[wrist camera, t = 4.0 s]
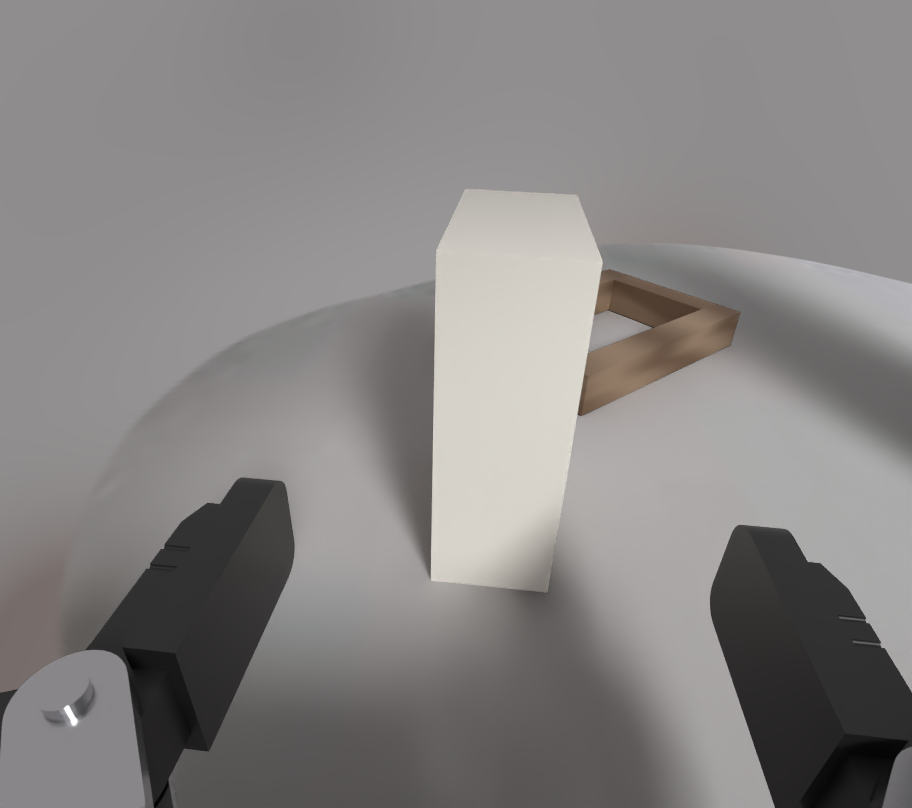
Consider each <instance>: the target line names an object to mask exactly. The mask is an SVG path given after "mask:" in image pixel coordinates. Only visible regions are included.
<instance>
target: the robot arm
mask: <svg viewBox="0 0 912 808" xmlns="http://www.w3.org/2000/svg"><path fill="white" fill-rule="evenodd" d="M293 559H294V537H293V530H292V524H291V517H290V510H289V504H288V497H287V491H286V487H285V484H284V483H283V482H282V481H275V480H264V479H253V478H240V479H238V480H237V481H236V482H235V483H234V485H233V486H232V487H231V489H230V490H229V492H228V493H227V495H226V496H225V498H224V499H223V501H222V502H221V504H213V503H207V504H205V505H204V506H203V507H201V508H200V509H198V510H197V511H196V512H194V513H193V514H191V515H190V516H189V517H187V518H186V519H185V520H183V521H182V522H181V523H180V525H179V526H178V527H177V529H176V530H175V531H174V533H173V534H172V535H171V537H170V538H169V539H168V541H167V542H166V543H165V547H164V549H161V550H160V551H159V553H158V554H157V555H156V557H155V558H154V559H153V561H152V562H151V563H150V568H149V569H146V570H145V572H144V573H143V574H142V576H141V577H140V578H139V580H138V581H137V582H136V584H135V585H134V586H133V588H132V589H131V590H130V592H129V593H128V594H127V596H126V597H125V598H124V600H123V601H122V602H121V604H120V605H119V606H118V608H117V609H116V611H115V612H114V613H113V615H112V616H111V617H110V619H109V620H108V621H107V623H106V624H105V625H104V627H103V628H102V629H101V631H100V632H99V633H98V635H97V636H96V637H95V639H94V640H93V641H92V643H91V644H90V645H89V646H88V647H87V649H86V650H85V651H81V652H76V653H73V654H70V655H67V656H64V657H62V658H60V659H57V660H55V661H53V662H52V663H50V664H48V665H46V666H45V667H43V668H42V669H40V670H39V671H38V672H36V673H35V674H34V675H32V676H31V677H30V678H29V679H28V680H27V681H26V682H25V683H24V684H23V685H22V686H21V687H20V688H19V689H17V690H12V691H8V692H3V693H0V808H178V806H177V800H176V794H175V789H174V783H173V779H172V775H171V773H172V771H173V769H174V767H175V765H176V763H177V761H178V759H179V757H180V755H181V753H182V751H183V749H184V748H185V749H193V750H201V751H209V750H210V748H211V746H212V743H213V741H214V739H215V737H216V735H217V732H218V730H219V728H220V726H221V724H222V722H223V719H224V717H225V715H226V713H227V711H228V708H229V706H230V704H231V702H232V700H233V697H234V695H235V693H236V691H237V689H238V687H239V684H240V682H241V680H242V678H243V676H244V673H245V671H246V669H247V667H248V665H249V662H250V660H251V658H252V656H253V654H254V651H255V649H256V647H257V645H258V643H259V641H260V638H261V636H262V634H263V632H264V630H265V627H266V625H267V623H268V621H269V619H270V616H271V614H272V612H273V610H274V608H275V606H276V603H277V601H278V599H279V597H280V595H281V592H282V590H283V588H284V586H285V584H286V581H287V579H288V577H289V574H290V572H291V568H292V564H293ZM710 610H711V617H712V621H713V624H714V627H715V630H716V633H717V636H718V639H719V642H720V645H721V648H722V651H723V654H724V657H725V660H726V663H727V666H728V669H729V672H730V675H731V678H732V681H733V684H734V687H735V690H736V693H737V696H738V699H739V702H740V705H741V708H742V711H743V714H744V717H745V720H746V723H747V726H748V728H749V731H750V734H751V737H752V740H753V743H754V746H755V749H756V752H757V755H758V758H759V761H760V764H761V767H762V770H763V773H764V776H765V779H766V782H767V785H768V788H769V791H770V794H771V797H772V800H773V803H774V806H775V808H912V692H911V690H910V689H909V687H908V685H907V684H906V682H905V681H904V679H903V677H902V676H901V674H900V672H899V671H898V669H897V668H896V666H895V664H894V663H893V661H892V659H891V658H890V656H889V655H888V653H887V651H886V650H885V648H881V646H880V643H881V642H880V640H879V638H878V637H877V635H876V633H875V632H874V630H873V629H872V627H871V625H870V624H869V623H866V621H865V619H866V617H865V615H864V614H863V612H862V611H861V609H860V607H859V606H858V604H857V602H856V601H855V599H854V598H853V596H852V594H851V593H850V591H849V589H848V588H847V587H846V586H844V585H843V584H842V583H841V582H840V581H839V580H838V579H837V578H836V577H835V576H834V575H832V574H831V573H830V572H829V571H828V570H827V569H826V568H825V567H824V566H823V565H822V564H820V563H812V562H807V560H806V558H805V556H804V555H803V553H802V551H801V549H800V548H799V546H798V544H797V542H796V540H795V539H794V537H793V536H792V534H791V533H790V532H789V531H788V530H786V529H779V528H769V527H758V526H747V525H738V526H737V527H736V528H735V529H734V530H733V532H732V534H731V537H730V539H729V542H728V545H727V547H726V550H725V553H724V555H723V558H722V561H721V563H720V566H719V569H718V571H717V574H716V577H715V579H714V582H713V585H712V588H711V595H710Z"/></svg>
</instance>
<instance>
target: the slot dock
mask: <svg viewBox="0 0 912 808" xmlns="http://www.w3.org/2000/svg"><path fill="white" fill-rule="evenodd" d="M607 310H610V311H613V312H616V313H618V314H621V315H623V316H626V317H629V318H631V319H634V320H636V321H639V322H642V323H644V324H647V325H649V326H652V327H655V328H652V329H649V330H647V331H644V332H642V333H639V334H637V335H634V336H631V337H629V338H626V339H624V340H621V341H618V342H616V343H613V344H611V345H608V346H606V347H603V348H600V349H598V350H595V351H593V352H590V353H588V354H587V360H586V365H585V371H584V377H583V383H582V389H581V395H580V401H579V407H578V413H577V414H579V415H581V416H582V415H584V414H587V413H589V412H591V411H593V410H595V409H597V408H599V407H601V406H603V405H605V404H608V403H610V402H612V401H614V400H616V399H618V398H620V397H622V396H624V395H626V394H629V393H631V392H633V391H635V390H637V389H639V388H641V387H643V386H645V385H647V384H650V383H652V382H654V381H656V380H658V379H660V378H662V377H664V376H666V375H668V374H671V373H673V372H675V371H677V370H679V369H681V368H683V367H685V366H687V365H689V364H692V363H694V362H696V361H698V360H700V359H702V358H704V357H706V356H708V355H710V354H713V353H715V352H717V351H719V350H721V349H723V348H725V347H727V346H729V345H731V342H732V339H733V335H734V332H735V329H736V326H737V322H738V319H739V316H740V312H739V311H736V310H733V309H730V308H727V307H724V306H721V305H718V304H715V303H711V302H708V301H705V300H702V299H699V298H696V297H693V296H690V295H687V294H684V293H681V292H678V291H675V290H672V289H669V288H666V287H663V286H659V285H656V284H653V283H650V282H647V281H644V280H641V279H638V278H635V277H632V276H629V275H626V274H623V273H620V272H617V271H614V270H611V269H609V270H605V271H602V272H601V276H600V282H599V288H598V294H597V300H596V306H595V312H594V315H595V314H598V313H601V312H604V311H607Z"/></svg>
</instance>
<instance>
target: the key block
mask: <svg viewBox="0 0 912 808" xmlns="http://www.w3.org/2000/svg"><path fill="white" fill-rule="evenodd" d="M602 264H603V260H602V258H601V255H600V252H599V250H598V247H597V245H596V242H595V240H594V237H593V235H592V232H591V229H590V227H589V224H588V222H587V219H586V216H585V214H584V212H583V209H582V206H581V204H580V201H579V199H578V196H577V195H567V194H549V193H531V192H513V191H494V190H477V189H465V191H464V194H463V196H462V197H461V200H460V202H459V204H458V206H457V208H456V210H455V213H454V214H453V216H452V219H451V221H450V223H449V225H448V227H447V229H446V231H445V233H444V235H443V238H442V239H441V242H440V244H439V246H438V248H437V250H436V291H435V352H434V414H433V476H432V537H431V580H432V581H441V582H451V583H460V584H470V585H479V586H489V587H498V588H508V589H517V590H527V591H536V592H546V593H548V587H549V581H550V575H551V569H552V563H553V557H554V551H555V545H556V539H557V533H558V527H559V521H560V515H561V509H562V503H563V497H564V491H565V485H566V479H567V473H568V467H569V461H570V455H571V449H572V443H573V437H574V431H575V425H576V419H577V413H578V407H579V401H580V395H581V389H582V383H583V377H584V371H585V365H586V360H587V354H588V348H589V342H590V336H591V330H592V324H593V318H594V312H595V306H596V300H597V294H598V288H599V282H600V276H601V270H602Z"/></svg>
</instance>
